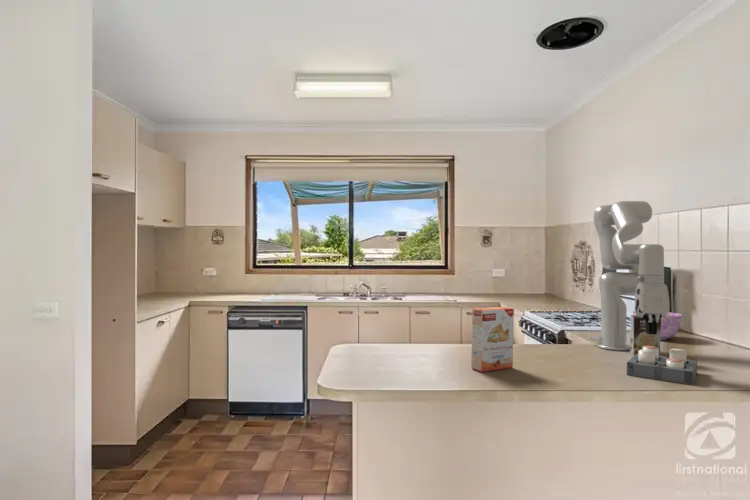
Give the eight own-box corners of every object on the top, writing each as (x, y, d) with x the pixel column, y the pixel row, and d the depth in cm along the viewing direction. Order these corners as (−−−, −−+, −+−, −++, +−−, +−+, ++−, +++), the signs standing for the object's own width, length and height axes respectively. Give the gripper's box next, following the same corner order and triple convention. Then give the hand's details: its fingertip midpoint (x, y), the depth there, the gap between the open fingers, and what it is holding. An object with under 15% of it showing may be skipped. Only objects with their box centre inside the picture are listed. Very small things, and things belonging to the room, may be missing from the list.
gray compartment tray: (626, 374, 158) (626, 362, 158) (636, 364, 173) (636, 353, 173) (692, 384, 147) (692, 371, 147) (696, 372, 162) (697, 360, 162)
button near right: (665, 376, 154) (665, 360, 154) (667, 373, 158) (667, 357, 158) (683, 379, 151) (683, 362, 151) (684, 376, 155) (684, 359, 155)
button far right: (668, 366, 160) (668, 350, 160) (670, 363, 164) (670, 347, 164) (685, 368, 157) (685, 352, 157) (687, 365, 161) (687, 349, 161)
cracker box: (482, 373, 160) (482, 310, 160) (470, 368, 165) (471, 307, 165) (514, 368, 166) (514, 307, 166) (502, 364, 172) (502, 305, 172)
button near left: (637, 366, 159) (637, 350, 159) (639, 364, 163) (639, 348, 163) (653, 369, 156) (653, 352, 156) (656, 366, 160) (656, 350, 160)
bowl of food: (641, 341, 216) (641, 315, 216) (626, 333, 236) (626, 310, 236) (690, 343, 213) (690, 317, 213) (670, 335, 233) (670, 311, 233)
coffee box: (632, 360, 179) (633, 317, 179) (629, 356, 185) (630, 315, 185) (660, 362, 176) (661, 318, 176) (656, 358, 182) (657, 316, 182)
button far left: (641, 362, 165) (641, 347, 165) (643, 359, 169) (643, 344, 169) (657, 364, 162) (657, 348, 162) (659, 362, 166) (659, 346, 166)
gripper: (638, 280, 161) (638, 335, 160) (679, 280, 163) (679, 335, 162) (624, 279, 168) (624, 332, 168) (663, 279, 170) (663, 332, 170)
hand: (651, 333), depth 165 cm, fingers closed
